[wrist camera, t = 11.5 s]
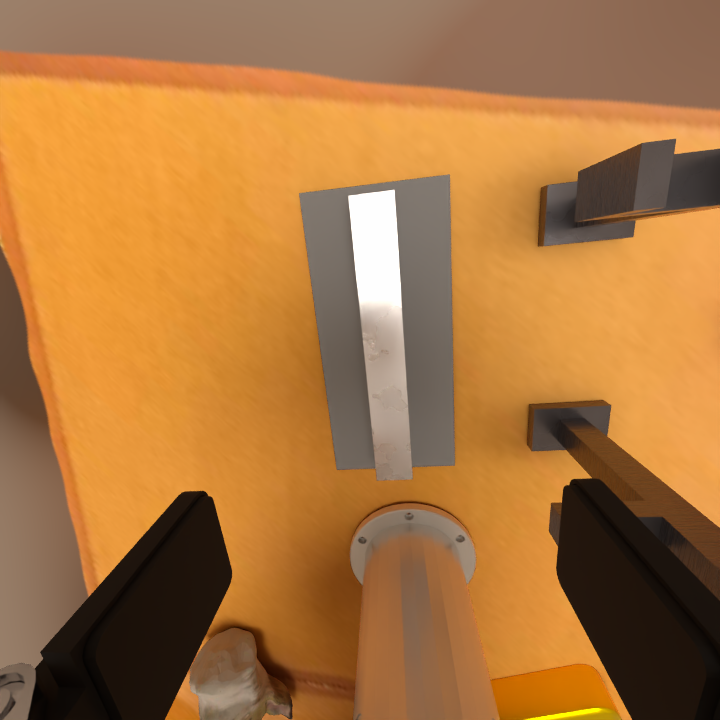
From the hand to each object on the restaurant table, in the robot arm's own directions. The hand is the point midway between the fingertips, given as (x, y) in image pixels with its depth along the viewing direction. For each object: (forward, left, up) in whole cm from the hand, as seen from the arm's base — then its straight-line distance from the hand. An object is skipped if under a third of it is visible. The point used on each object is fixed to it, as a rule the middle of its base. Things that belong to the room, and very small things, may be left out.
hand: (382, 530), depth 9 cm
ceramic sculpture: (-39, +20, -21) cm, 49 cm away
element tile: (-48, -16, -21) cm, 54 cm away
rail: (0, 0, -20) cm, 20 cm away
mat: (0, 0, -20) cm, 20 cm away
